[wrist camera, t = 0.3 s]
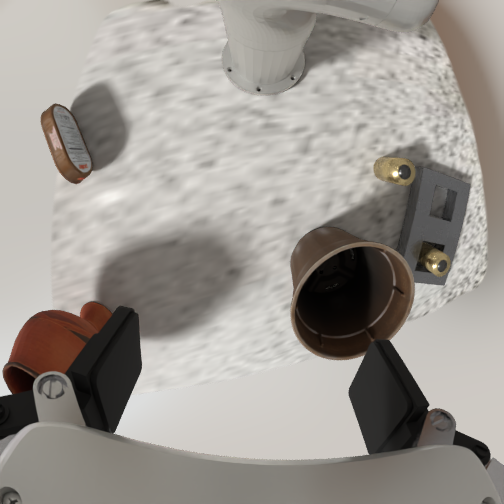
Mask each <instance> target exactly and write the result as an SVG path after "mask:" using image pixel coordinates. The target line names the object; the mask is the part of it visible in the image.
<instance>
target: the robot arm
mask: <svg viewBox="0 0 504 504" xmlns="http://www.w3.org/2000/svg"><path fill="white" fill-rule="evenodd" d="M217 2H218V4H219V6H220V9H221V12H222V16H223V21H224V25H225V29H226V34H227V39H228V41H227V43H226V45H225V47H224V50H223V53H222V64H223V69H224V72H225V73H226V75H227V77H228V78H229V80H230V81H231V82H232V83H233V84H234V85H235V86H237V87H238V88H240V89H241V90H243V91H245V92H248V93H251V94H255V95H274V94H278V93H281V92H284V91H285V90H287V89H289V88H290V87H292V86H293V85H294V84H295V83H296V82H297V81H298V80H299V78H300V76H301V75H302V73H303V70H304V66H305V55H304V52H303V48H304V46H305V44H306V42H307V40H308V38H309V36H310V34H311V32H312V30H313V28H314V25H315V23H316V18H317V13H322V14H327V15H332V16H337V17H341V18H345V19H349V20H353V21H357V22H361V23H364V24H368V25H372V26H375V27H378V28H382V29H386V30H389V31H394V32H401V33H405V32H412V31H415V30H417V29H419V28H421V27H422V26H423V25H424V24H425V23H426V22H427V21H428V20H429V19H430V17H431V16H432V14H433V12H434V10H435V8H436V6H437V4H438V2H439V0H217ZM229 70H232V71H231V72H228V71H229ZM291 78H293V79H294V80H291ZM257 89H260V90H261V91H257ZM141 369H142V360H141V349H140V335H139V317H138V314H137V313H135V312H134V309H132V308H128V307H123V306H119V307H118V308H117V309H116V311H115V312H114V313H113V314H112V316H111V317H110V318H109V320H108V321H107V322H106V323H105V325H104V326H103V327H102V329H101V330H100V331H99V333H95V334H94V335H93V336H92V337H91V338H90V340H89V341H88V342H87V344H86V345H85V346H84V348H83V349H82V350H81V352H80V353H79V354H78V356H77V357H76V359H75V360H74V361H73V363H72V364H71V365H70V367H69V368H68V370H67V371H66V372H65V374H63V373H61V372H56V371H51V372H46V373H43V374H41V375H40V376H38V377H37V379H36V380H35V382H34V384H33V390H30V391H26V392H21V393H16V394H12V395H7V396H2V397H0V504H504V465H502V464H501V463H500V462H498V461H497V460H496V459H495V458H492V459H490V451H489V449H488V447H487V446H486V445H485V444H484V443H482V442H480V441H478V440H476V439H474V438H471V437H469V436H467V435H465V434H463V433H460V432H458V431H456V422H455V419H454V418H453V416H452V415H451V414H450V413H449V412H447V411H445V410H443V409H437V408H435V409H432V410H430V411H428V409H427V408H428V406H429V403H428V401H427V400H426V398H425V396H424V395H423V393H422V391H421V390H420V388H419V387H418V385H417V383H416V381H415V380H414V378H413V376H412V375H411V373H410V372H409V370H408V368H407V367H406V365H405V364H404V362H403V360H402V359H401V357H400V356H399V354H398V353H397V351H396V350H395V348H394V346H393V345H392V343H391V342H390V341H389V340H387V339H376V340H375V341H374V342H372V343H371V344H370V345H369V347H368V350H367V352H366V354H365V356H364V359H363V361H362V363H361V365H360V367H359V369H358V371H357V374H356V376H355V378H354V380H353V382H352V384H351V386H350V388H349V397H350V400H351V403H352V406H353V409H354V411H355V415H356V417H357V420H358V423H359V426H360V429H361V432H362V435H363V438H364V441H365V444H366V447H367V450H368V453H369V454H370V455H364V456H355V457H345V458H333V459H314V460H267V459H249V458H236V457H225V456H217V455H209V454H203V453H196V452H190V451H184V450H179V449H174V448H169V447H164V446H159V445H155V444H151V443H146V442H142V441H138V440H134V439H130V438H127V437H123V436H120V435H116V434H112V433H114V432H115V431H116V428H117V426H118V424H119V421H120V419H121V416H122V414H123V412H124V409H125V406H126V404H127V402H128V400H129V398H130V395H131V393H132V391H133V389H134V386H135V384H136V382H137V379H138V377H139V375H140V373H141Z"/></svg>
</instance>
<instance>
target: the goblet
mask: <svg viewBox="0 0 504 504" xmlns="http://www.w3.org/2000/svg"><path fill="white" fill-rule="evenodd" d="M111 316H112V313H111V312H110V311H109V310H108V309H107V308H106V307H104V306H103V305H100V304H98V303H94V302H90V303H87V304H85V305H84V306H83V307H82V309H81V312H80V317H79V316H76V315H74V314H72V313H69V312H65V311H61V310H48V311H42V312H39V313H37V314H35V315H34V316H32V317H31V318H30V319H29V320H28V321H27V322H26V323H25V324H24V326H23V328H22V329H21V330H20V332H19V334H18V336H17V338H16V340H15V343H14V346H13V349H12V352H11V355H10V358H9V361H8V363H7V364H6V365H5V366H4V368H3V378H4V380H5V382H6V384H7V386H8V388H9V390H10V391H11V393H12V394H16V393H21V392H26V391H30V390H33V384H34V382H35V380H36V379H37V377H38V376H40V375H41V374H43V373H46V372H51V371H56V372H61V373H63V374H65V372H66V371H67V370H68V368H69V367H70V365H71V364H72V363H73V361H74V360H75V359H76V357H77V356H78V354H79V353H80V352H81V350H82V349H83V348H84V346H85V345H86V344H87V342H88V341H89V340H90V338H91V337H92V336H93V335H94V334H95V333H99V331H100V330H101V329H102V327H103V326H104V325H105V323H106V322H107V321H108V320H109V318H110V317H111Z"/></svg>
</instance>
